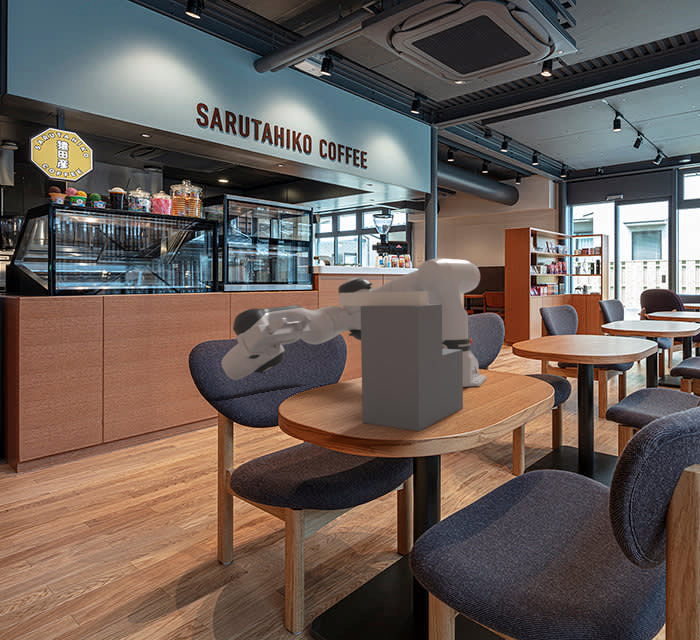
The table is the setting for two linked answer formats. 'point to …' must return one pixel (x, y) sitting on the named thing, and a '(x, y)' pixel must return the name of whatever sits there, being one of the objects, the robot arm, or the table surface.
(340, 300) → the beige rectangular post
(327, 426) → the table surface
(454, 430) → the table surface
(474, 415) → the table surface
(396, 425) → the grey l-shaped step block
